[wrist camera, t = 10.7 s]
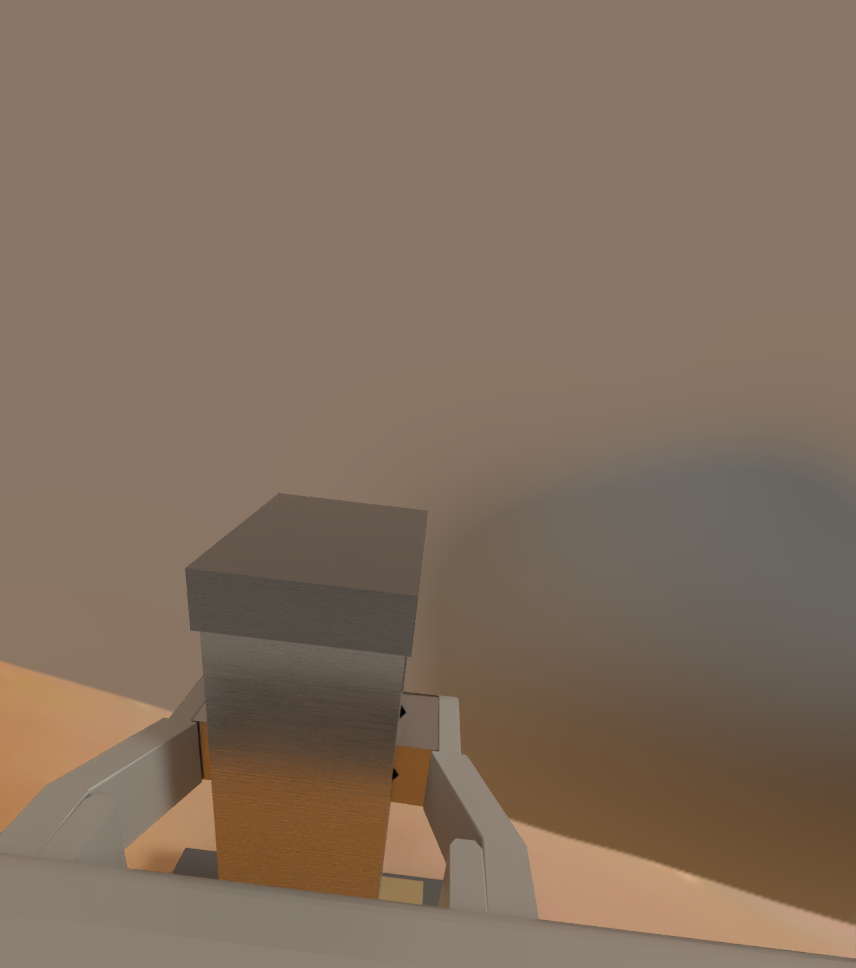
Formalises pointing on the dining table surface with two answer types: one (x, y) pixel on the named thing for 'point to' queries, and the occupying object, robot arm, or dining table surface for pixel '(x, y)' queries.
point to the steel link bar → (306, 686)
